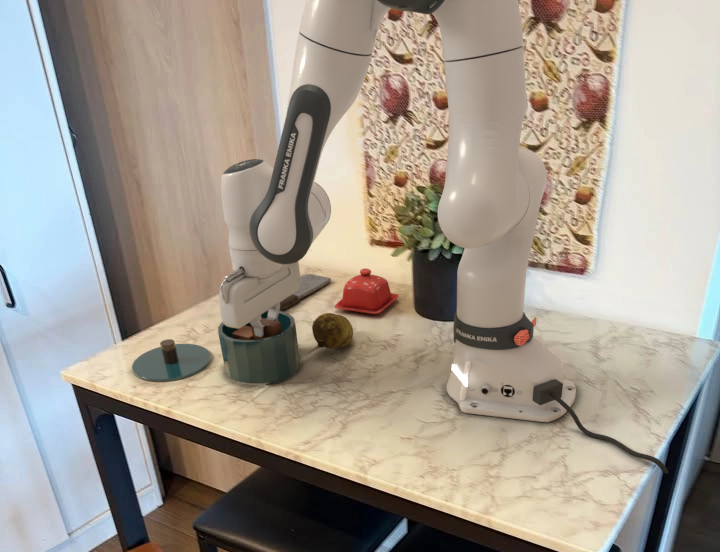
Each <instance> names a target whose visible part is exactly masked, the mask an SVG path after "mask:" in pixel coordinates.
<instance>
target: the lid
mask: <svg viewBox="0 0 720 552" xmlns="http://www.w3.org/2000/svg"><path fill="white" fill-rule="evenodd" d="M159 345H160V346H158V347H156V348H153V349H150V350H148V351H146V352H144V353H142V354H140V355H139V356H138V357H137V358H135V360H134V361H133V363H132V365H131V370H132V373H133V374H134V375H135V376H136V377H137V378H138V379H141V380H144V381H147V382H153V383H155V382H158V383H161V382H165V383H166V382H173V381H174V382H175V381H178V380H183V379H186V378H189V377H192V376H194V375H196V374H198V373H200V372H202V371H203V370H204V369H205V368H207V367H208V365H210V363H211V360H212V356H211V352H210V351H209V350H208V349H207V348H206V347H204V346H201V345H199V344H194V343H176V341H175V340H174V339H172V338H171V339H170V338H169V339H164V340H161V341H160V343H159Z"/></svg>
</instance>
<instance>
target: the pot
mask: <svg viewBox="0 0 720 552" xmlns="http://www.w3.org/2000/svg"><path fill="white" fill-rule="evenodd" d="M261 318H264V319H266V318H268V310H267V311H266V312H264V313H263V314H261ZM277 319H278V321H280V325H281V333H280V334H278V335H275V336H273V337H269V338H264V339H260V340H254V339H253V340H243V339H238V338H233V337H232V335H231V334H232V333H233V332H235V331H236V330H238V329H237V328H231V327H227V326H225V325H224V324H223V322H222V321H221V323H219V325H218V327H217V332H218V333H217V334H218V339H219V345H220V350H221V355H222V360H223V365H224V371H225V374H226V375H227V376H228V377H229V378H230V379H231V380H234V381H236V382H239V383H245V384H265V386H269V385H274V384H276V383H277V384H278V383H280V382H283V381H285V380H287V379H289V378H291V377H292V376H294V375H296V373H297V372H298V371H299V369H300V366H301V360H300V351H299V350H300V349H299V342H298V335H297V326H296V325H297V324H296V320H295V317H294V316H293V315H291V314H290V313H288V312H286V311H284V310H282V311H279V314H278V317H277ZM245 326H249V327H251V324H250V323H248V324H246V325H245Z"/></svg>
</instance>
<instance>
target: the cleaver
mask: <svg viewBox="0 0 720 552" xmlns="http://www.w3.org/2000/svg"><path fill="white" fill-rule="evenodd" d="M330 282H332V278H331V277H327V276H322V275H317V274H312V273H308V274H304V275H300V286H299V289H298V291H296V292H295V293H293V294H292V295H290V296H289V297H287V298H286V299H284V300H283V301H281V302H280V310H279V311H284V310H286V309H289V308H290V307H292V306H294V305H296V304H297V303H299V300H301V299H302V298H305V297H306V296H308V295H310V294H312V293H314V292H315V291H317V290H319V289H321V288H323V287H324V286H326V285H327V284H329V283H330Z"/></svg>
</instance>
